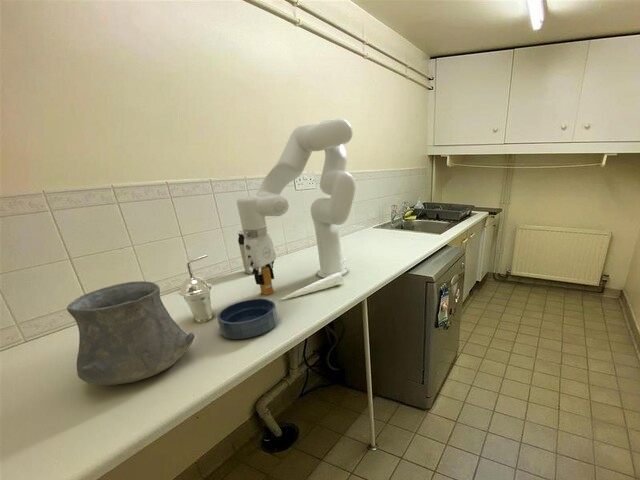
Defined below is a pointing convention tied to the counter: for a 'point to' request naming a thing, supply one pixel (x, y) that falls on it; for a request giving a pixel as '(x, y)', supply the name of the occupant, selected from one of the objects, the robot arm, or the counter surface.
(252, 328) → the bowl
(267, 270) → the supplement box
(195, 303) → the cup with straw
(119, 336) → the vessel
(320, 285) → the unicorn horn
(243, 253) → the travel mug
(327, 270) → the robot arm
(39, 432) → the counter surface
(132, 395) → the counter surface
